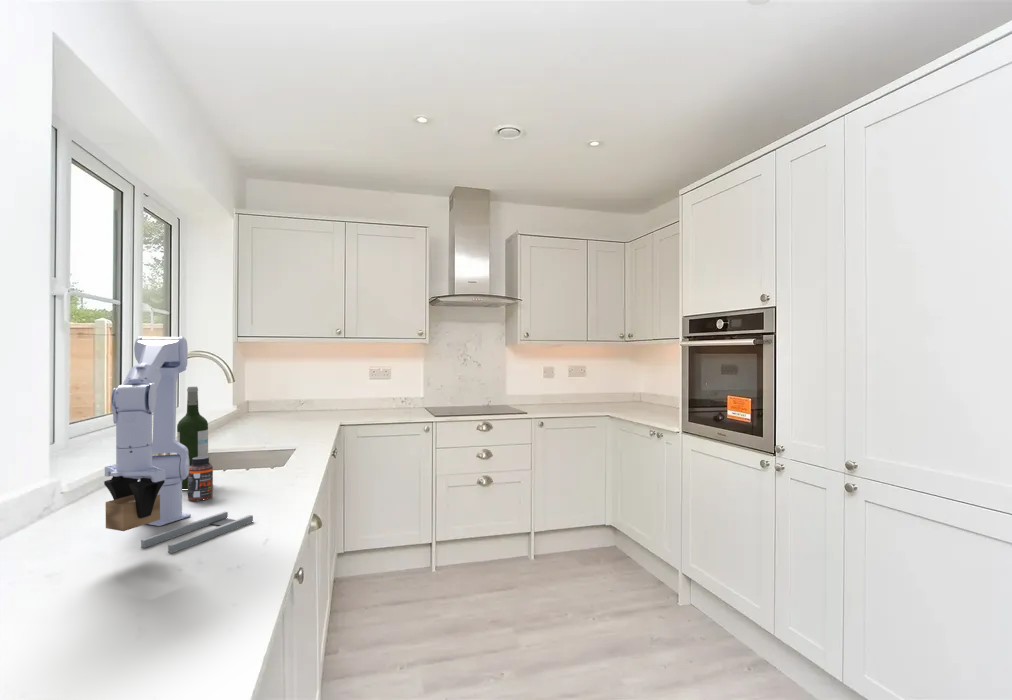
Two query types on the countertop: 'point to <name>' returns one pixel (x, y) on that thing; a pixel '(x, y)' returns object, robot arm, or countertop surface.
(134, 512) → the brown rectangular block
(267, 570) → the countertop surface
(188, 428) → the wine bottle
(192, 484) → the supplement bottle
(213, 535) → the channel
